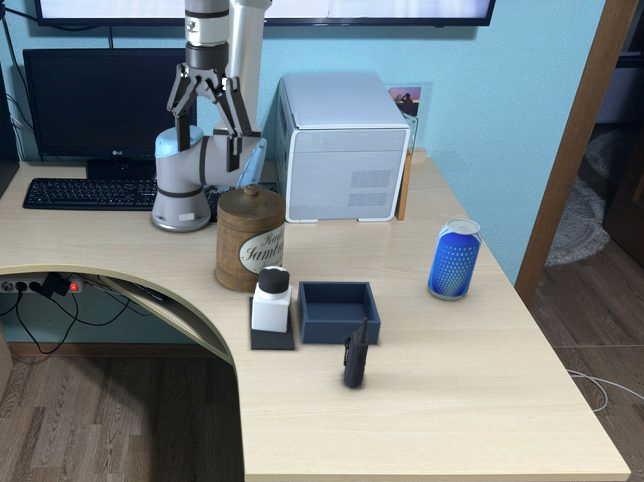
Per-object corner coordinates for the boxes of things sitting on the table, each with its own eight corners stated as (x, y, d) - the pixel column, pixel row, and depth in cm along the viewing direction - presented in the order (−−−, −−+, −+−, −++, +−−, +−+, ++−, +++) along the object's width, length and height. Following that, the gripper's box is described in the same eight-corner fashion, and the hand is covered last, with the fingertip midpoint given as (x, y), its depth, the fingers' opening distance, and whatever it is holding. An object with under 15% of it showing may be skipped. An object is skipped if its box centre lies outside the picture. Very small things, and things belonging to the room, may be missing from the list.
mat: (249, 298, 146) (249, 296, 145) (288, 298, 145) (288, 297, 145) (251, 349, 132) (251, 348, 131) (294, 350, 131) (294, 348, 131)
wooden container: (253, 300, 145) (258, 207, 131) (202, 276, 153) (202, 186, 139) (294, 273, 153) (302, 183, 140) (244, 251, 161) (247, 164, 148)
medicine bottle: (286, 333, 135) (291, 283, 127) (251, 329, 136) (253, 279, 129) (289, 313, 140) (294, 263, 133) (256, 309, 142) (258, 260, 134)
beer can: (424, 298, 145) (440, 231, 135) (428, 278, 151) (443, 213, 141) (465, 305, 142) (484, 238, 132) (467, 284, 148) (485, 219, 138)
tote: (297, 301, 144) (299, 281, 141) (365, 302, 144) (369, 281, 140) (302, 343, 133) (304, 321, 130) (377, 344, 132) (381, 322, 129)
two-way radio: (362, 390, 122) (374, 324, 112) (337, 388, 122) (347, 321, 113) (361, 371, 126) (373, 305, 117) (337, 368, 127) (347, 303, 117)
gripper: (144, 32, 120) (151, 147, 133) (244, 59, 106) (240, 185, 119) (175, 24, 124) (179, 137, 137) (276, 50, 110) (269, 173, 123)
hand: (207, 159), depth 128 cm, fingers open, 13 cm apart
